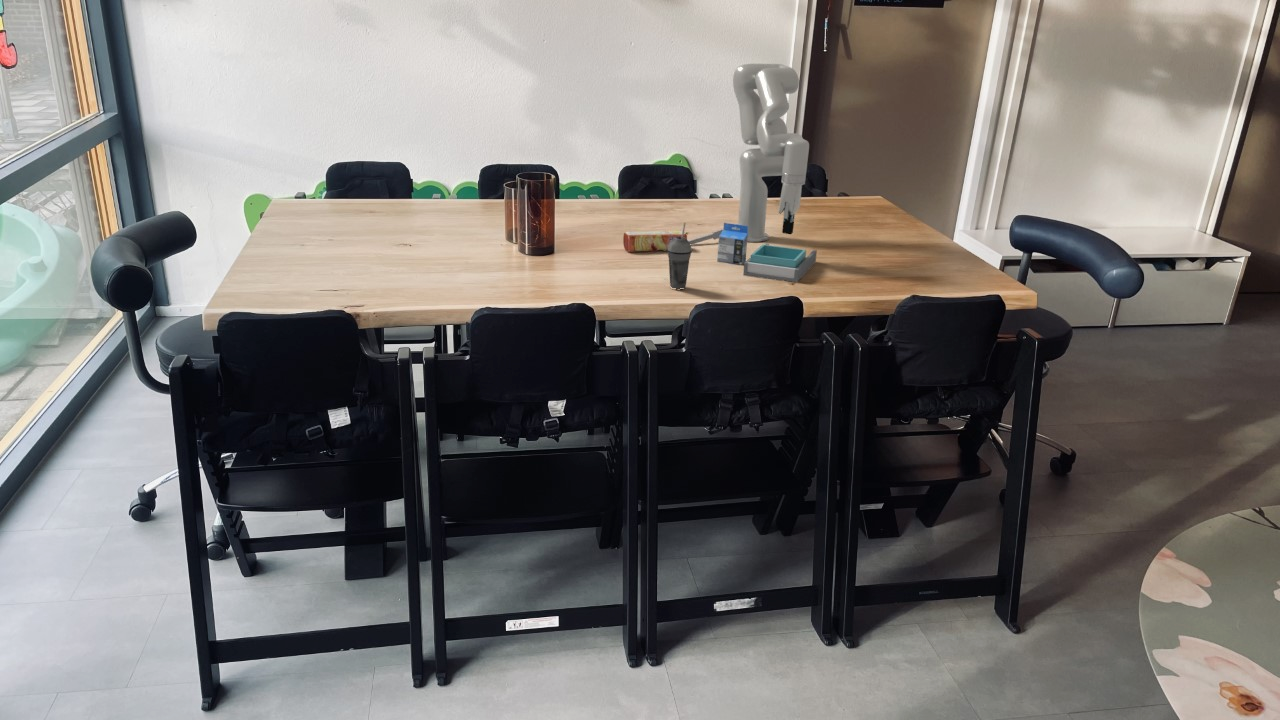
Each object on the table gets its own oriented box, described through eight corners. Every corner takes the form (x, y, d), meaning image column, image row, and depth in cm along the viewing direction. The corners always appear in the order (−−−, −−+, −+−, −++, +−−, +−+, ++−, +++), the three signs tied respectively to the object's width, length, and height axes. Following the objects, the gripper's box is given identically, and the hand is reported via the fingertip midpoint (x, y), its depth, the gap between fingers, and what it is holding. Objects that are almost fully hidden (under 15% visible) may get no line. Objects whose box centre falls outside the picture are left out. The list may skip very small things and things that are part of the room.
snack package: (682, 246, 344) (682, 227, 341) (687, 251, 338) (688, 232, 335) (622, 249, 339) (622, 229, 336) (627, 254, 333) (627, 234, 330)
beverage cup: (664, 284, 302) (667, 219, 295) (688, 284, 303) (691, 219, 295) (667, 291, 295) (669, 225, 288) (691, 291, 296) (694, 225, 288)
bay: (743, 275, 313) (744, 262, 312) (765, 255, 336) (766, 243, 334) (796, 282, 307) (798, 270, 306) (815, 261, 330) (816, 250, 328)
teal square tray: (749, 270, 314) (750, 254, 312) (761, 259, 326) (762, 244, 324) (794, 276, 309) (795, 260, 307) (804, 265, 321) (806, 249, 319)
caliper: (729, 241, 352) (730, 224, 350) (730, 242, 352) (732, 224, 349) (678, 246, 344) (679, 228, 342) (679, 247, 343) (680, 229, 341)
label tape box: (716, 261, 327) (718, 224, 323) (721, 258, 331) (723, 222, 326) (741, 265, 324) (744, 228, 319) (746, 262, 327) (748, 225, 322)
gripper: (788, 171, 326) (782, 225, 334) (776, 181, 314) (770, 237, 322) (810, 174, 324) (804, 228, 332) (799, 185, 311) (792, 241, 319)
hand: (787, 232), depth 327 cm, fingers closed
